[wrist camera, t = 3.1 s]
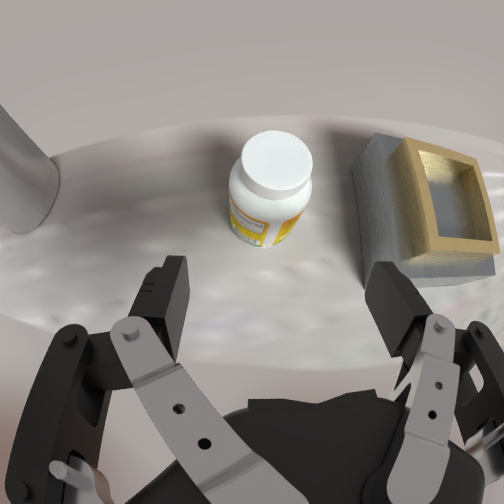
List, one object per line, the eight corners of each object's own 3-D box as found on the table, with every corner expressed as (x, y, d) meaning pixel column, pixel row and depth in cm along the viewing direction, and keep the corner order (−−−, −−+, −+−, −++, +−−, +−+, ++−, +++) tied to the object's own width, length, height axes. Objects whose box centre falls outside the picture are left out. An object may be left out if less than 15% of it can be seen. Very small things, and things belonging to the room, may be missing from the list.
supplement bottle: (233, 252, 23) (230, 205, 14) (227, 193, 24) (223, 123, 15) (297, 246, 23) (333, 198, 14) (287, 189, 25) (312, 120, 15)
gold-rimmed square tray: (364, 289, 23) (416, 273, 15) (351, 167, 26) (385, 118, 18) (456, 285, 23) (510, 270, 15) (439, 182, 26) (479, 149, 18)
